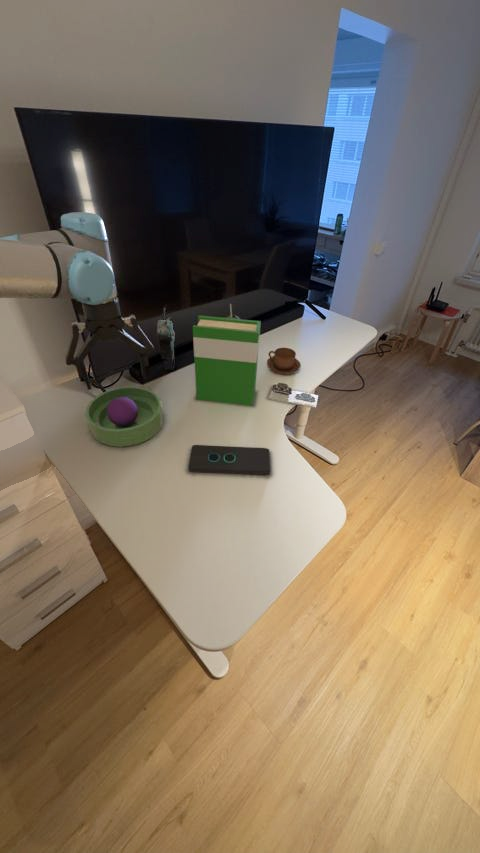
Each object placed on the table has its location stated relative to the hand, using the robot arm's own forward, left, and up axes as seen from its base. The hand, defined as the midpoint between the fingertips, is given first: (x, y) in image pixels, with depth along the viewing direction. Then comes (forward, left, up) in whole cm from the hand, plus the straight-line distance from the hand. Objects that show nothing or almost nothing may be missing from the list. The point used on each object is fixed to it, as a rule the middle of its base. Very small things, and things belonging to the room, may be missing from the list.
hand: (117, 381), depth 87 cm
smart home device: (+32, -2, -15) cm, 35 cm away
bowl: (0, 0, -14) cm, 14 cm away
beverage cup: (+12, +48, -15) cm, 52 cm away
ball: (0, 0, -10) cm, 10 cm away
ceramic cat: (-8, +37, -15) cm, 41 cm away
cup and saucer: (+32, +48, -15) cm, 60 cm away
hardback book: (+20, +24, -15) cm, 35 cm away
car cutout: (+40, +32, -15) cm, 53 cm away
